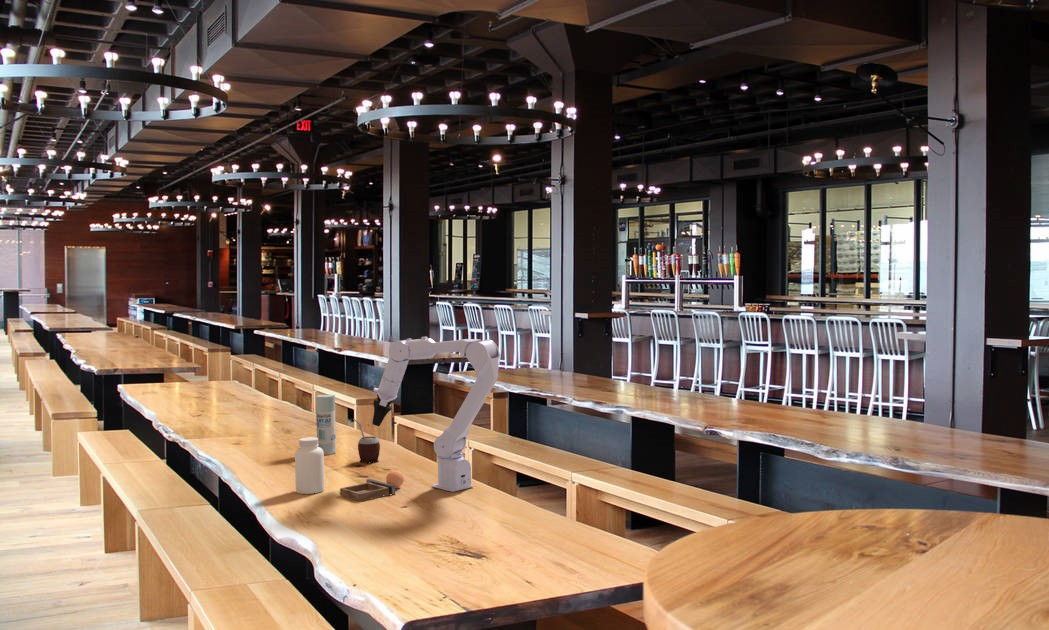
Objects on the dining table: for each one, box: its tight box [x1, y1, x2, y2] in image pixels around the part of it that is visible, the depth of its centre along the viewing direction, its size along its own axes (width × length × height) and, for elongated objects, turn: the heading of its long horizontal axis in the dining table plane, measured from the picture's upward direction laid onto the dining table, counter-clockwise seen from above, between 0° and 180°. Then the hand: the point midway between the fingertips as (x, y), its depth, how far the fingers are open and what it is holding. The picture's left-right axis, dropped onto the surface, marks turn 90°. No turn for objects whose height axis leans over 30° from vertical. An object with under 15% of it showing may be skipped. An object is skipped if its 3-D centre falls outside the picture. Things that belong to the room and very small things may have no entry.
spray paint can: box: [315, 394, 337, 456], centre depth 299 cm, size 6×6×20 cm
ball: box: [385, 470, 405, 489], centre depth 249 cm, size 5×5×5 cm
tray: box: [339, 482, 390, 502], centre depth 241 cm, size 10×10×2 cm
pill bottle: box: [294, 436, 325, 495], centre depth 246 cm, size 8×8×15 cm
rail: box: [365, 478, 396, 495], centre depth 245 cm, size 12×1×2 cm, turn 46°
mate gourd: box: [352, 418, 381, 464], centre depth 284 cm, size 8×8×15 cm
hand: (377, 420), depth 256 cm, fingers open, 7 cm apart
